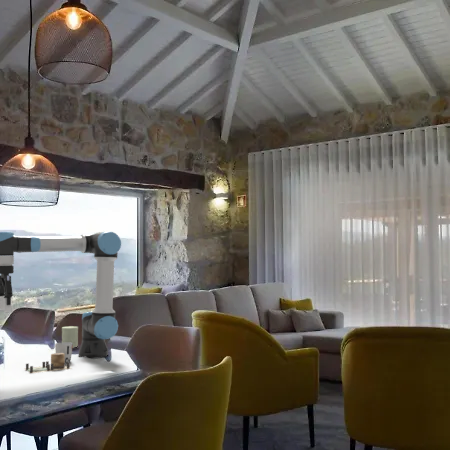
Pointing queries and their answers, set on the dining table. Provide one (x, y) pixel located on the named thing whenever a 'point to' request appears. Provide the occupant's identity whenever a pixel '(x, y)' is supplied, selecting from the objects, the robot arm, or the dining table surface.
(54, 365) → the wooden round post
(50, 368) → the pin board
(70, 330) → the can
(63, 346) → the cup
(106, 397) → the dining table surface
